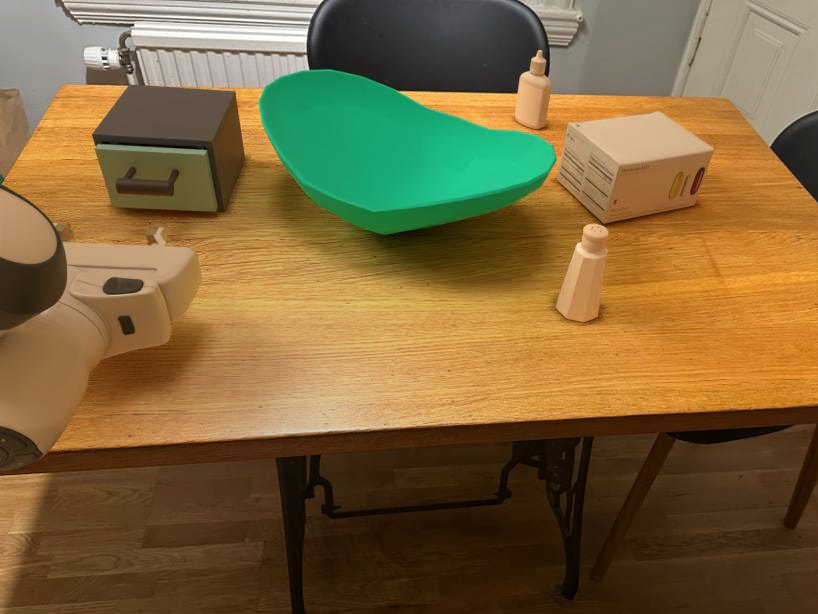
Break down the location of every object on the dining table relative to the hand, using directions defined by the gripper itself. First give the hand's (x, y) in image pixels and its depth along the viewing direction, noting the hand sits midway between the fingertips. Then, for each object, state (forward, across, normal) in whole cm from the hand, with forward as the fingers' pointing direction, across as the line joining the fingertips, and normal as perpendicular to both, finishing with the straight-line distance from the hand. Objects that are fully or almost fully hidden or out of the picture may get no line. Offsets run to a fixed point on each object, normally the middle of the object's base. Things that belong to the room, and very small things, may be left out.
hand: (112, 230), depth 73 cm
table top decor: (+18, +30, -8) cm, 36 cm away
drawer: (+19, 0, -7) cm, 21 cm away
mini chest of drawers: (+24, 0, -8) cm, 25 cm away
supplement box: (+27, +63, -8) cm, 69 cm away
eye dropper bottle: (+49, +51, -8) cm, 71 cm away
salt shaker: (-1, +51, -8) cm, 52 cm away
